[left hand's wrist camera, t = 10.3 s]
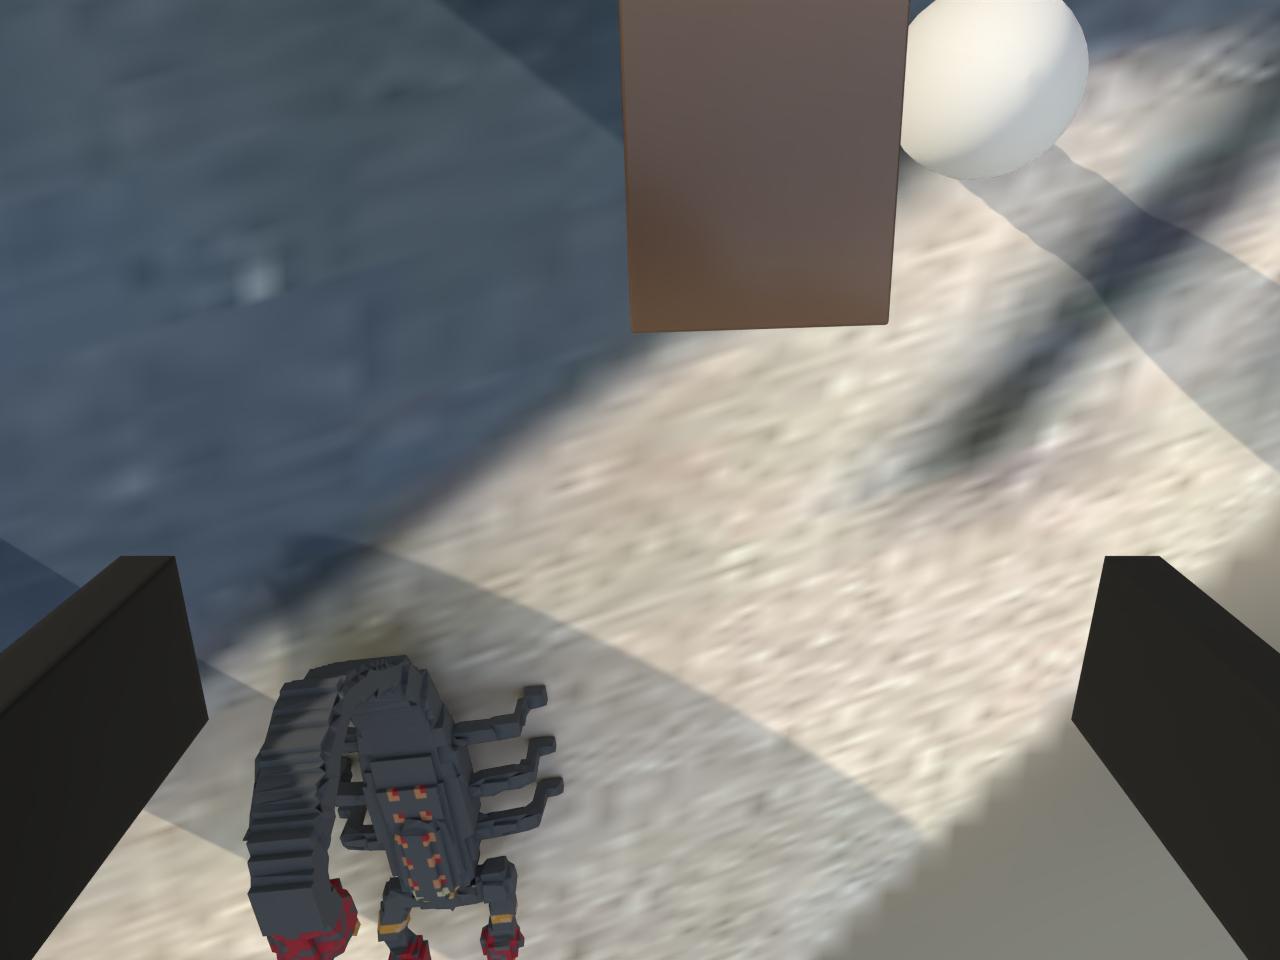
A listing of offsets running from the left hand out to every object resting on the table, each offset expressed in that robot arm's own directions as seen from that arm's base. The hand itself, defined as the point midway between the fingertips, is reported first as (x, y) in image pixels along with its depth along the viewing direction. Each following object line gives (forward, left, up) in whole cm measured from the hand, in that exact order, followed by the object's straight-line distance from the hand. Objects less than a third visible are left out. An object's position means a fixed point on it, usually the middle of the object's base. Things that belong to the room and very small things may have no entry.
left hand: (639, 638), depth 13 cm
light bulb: (+14, +5, -32) cm, 35 cm away
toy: (-19, -24, -32) cm, 44 cm away
